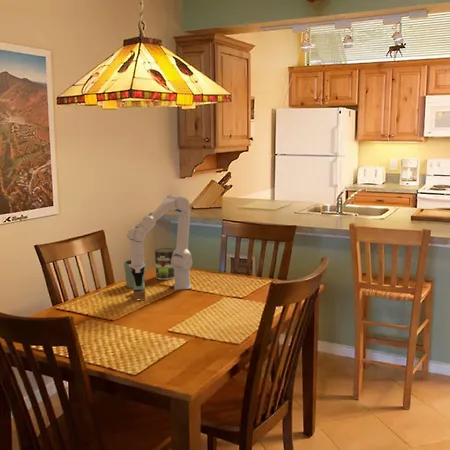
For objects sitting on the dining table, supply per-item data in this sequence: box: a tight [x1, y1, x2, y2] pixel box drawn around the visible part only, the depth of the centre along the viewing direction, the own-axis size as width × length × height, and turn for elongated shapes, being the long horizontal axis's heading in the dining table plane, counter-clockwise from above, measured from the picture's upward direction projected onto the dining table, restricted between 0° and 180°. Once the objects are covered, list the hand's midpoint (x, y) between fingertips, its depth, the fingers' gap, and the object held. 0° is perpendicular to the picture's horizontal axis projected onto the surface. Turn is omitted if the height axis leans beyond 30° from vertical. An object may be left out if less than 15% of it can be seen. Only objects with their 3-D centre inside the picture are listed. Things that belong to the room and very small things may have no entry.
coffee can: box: [154, 247, 176, 281], centre depth 278 cm, size 10×10×14 cm
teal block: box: [133, 277, 144, 290], centre depth 244 cm, size 4×4×5 cm
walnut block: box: [132, 287, 146, 301], centre depth 245 cm, size 5×5×4 cm
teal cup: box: [123, 259, 146, 289], centre depth 265 cm, size 10×10×12 cm
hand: (138, 284), depth 244 cm, fingers closed on teal block, 4 cm apart
